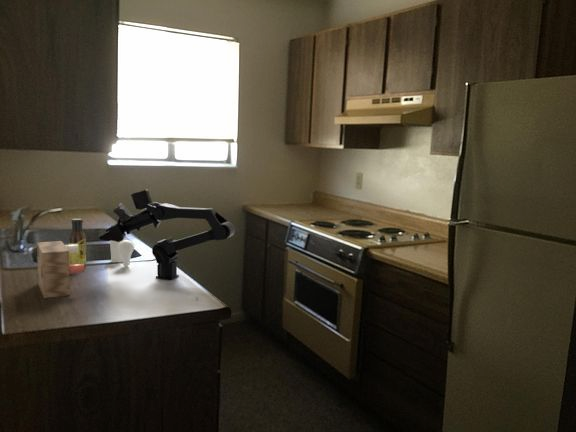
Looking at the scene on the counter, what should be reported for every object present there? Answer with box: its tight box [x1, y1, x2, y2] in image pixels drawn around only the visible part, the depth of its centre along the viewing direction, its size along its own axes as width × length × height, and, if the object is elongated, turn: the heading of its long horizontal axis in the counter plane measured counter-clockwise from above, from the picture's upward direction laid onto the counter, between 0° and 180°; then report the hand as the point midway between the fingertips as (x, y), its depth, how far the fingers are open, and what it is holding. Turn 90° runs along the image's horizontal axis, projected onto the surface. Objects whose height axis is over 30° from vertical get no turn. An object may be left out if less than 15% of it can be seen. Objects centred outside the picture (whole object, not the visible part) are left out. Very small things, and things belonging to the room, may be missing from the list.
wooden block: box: [36, 240, 71, 299], centre depth 182 cm, size 8×18×15 cm, turn 30°
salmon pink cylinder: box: [69, 264, 86, 275], centre depth 179 cm, size 7×3×3 cm, turn 120°
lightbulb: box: [118, 239, 135, 267], centre depth 216 cm, size 6×6×11 cm
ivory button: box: [64, 244, 79, 253], centre depth 189 cm, size 7×3×3 cm, turn 120°
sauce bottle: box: [68, 218, 87, 269], centre depth 210 cm, size 6×6×20 cm
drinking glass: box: [109, 236, 127, 263], centre depth 225 cm, size 7×7×10 cm
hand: (102, 234), depth 202 cm, fingers open, 9 cm apart
